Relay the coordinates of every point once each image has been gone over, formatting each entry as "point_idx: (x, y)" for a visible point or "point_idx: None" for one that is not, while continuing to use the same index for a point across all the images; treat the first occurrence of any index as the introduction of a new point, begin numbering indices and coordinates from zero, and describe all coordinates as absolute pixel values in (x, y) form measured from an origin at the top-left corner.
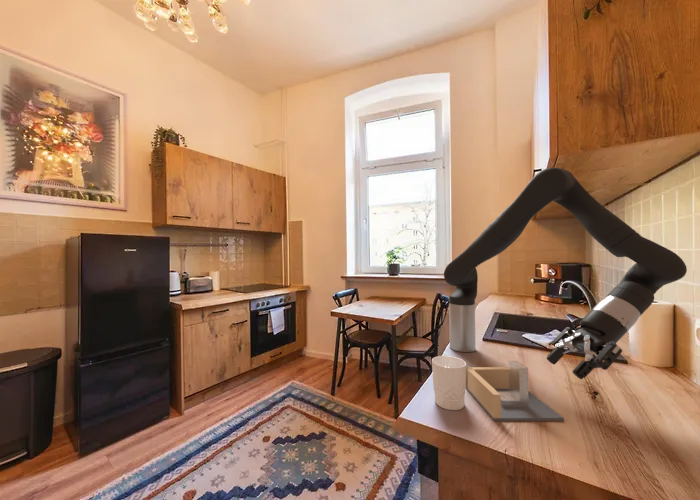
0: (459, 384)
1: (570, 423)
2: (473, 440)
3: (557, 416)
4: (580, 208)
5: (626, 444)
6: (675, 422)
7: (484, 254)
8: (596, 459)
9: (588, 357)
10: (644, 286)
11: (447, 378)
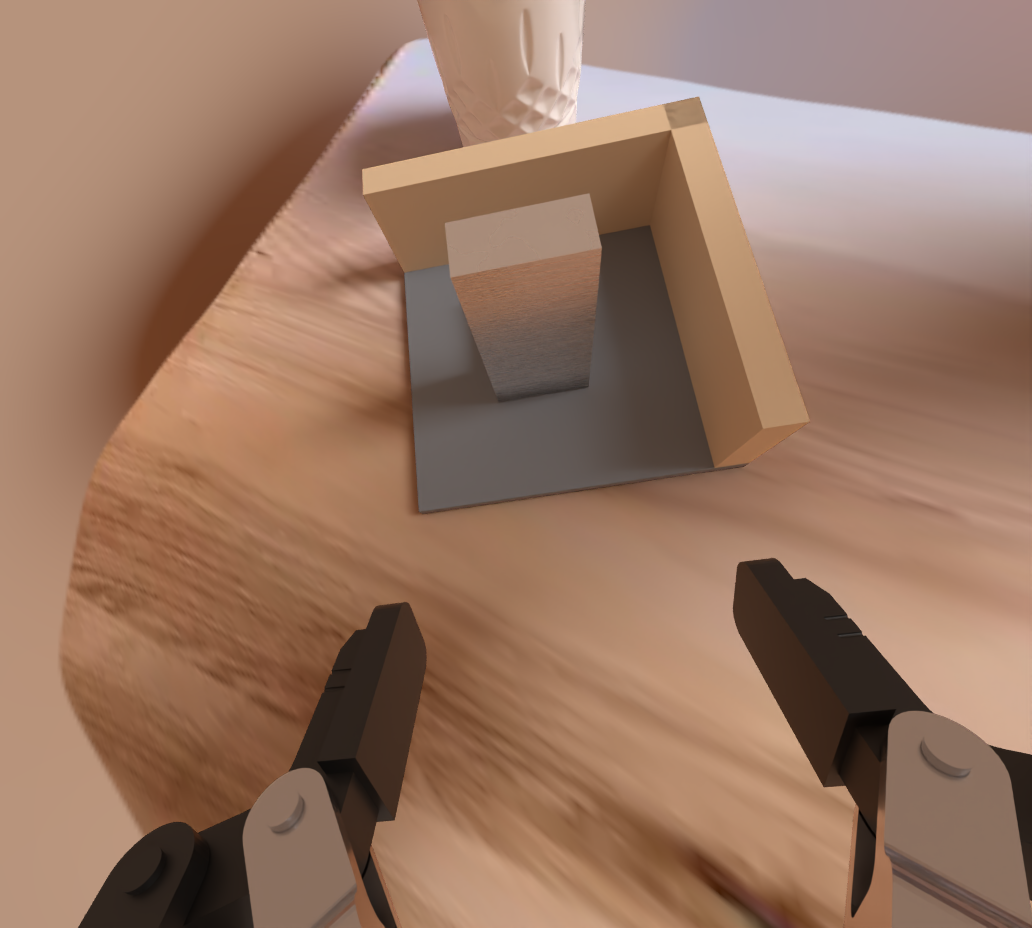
0: (432, 50)
1: (405, 530)
2: (305, 186)
3: (429, 490)
4: None
5: (269, 667)
6: None
7: None
8: (206, 488)
9: (272, 826)
10: None
11: None
